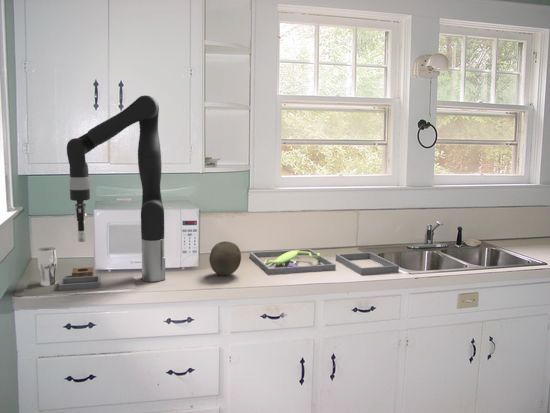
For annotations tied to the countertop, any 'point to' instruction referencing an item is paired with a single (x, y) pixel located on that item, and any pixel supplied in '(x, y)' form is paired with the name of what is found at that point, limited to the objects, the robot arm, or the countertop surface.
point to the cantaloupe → (225, 258)
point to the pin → (81, 233)
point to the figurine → (289, 258)
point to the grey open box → (327, 266)
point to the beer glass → (47, 265)
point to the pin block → (82, 272)
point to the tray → (80, 285)
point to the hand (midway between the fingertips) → (81, 230)
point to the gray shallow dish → (386, 268)
